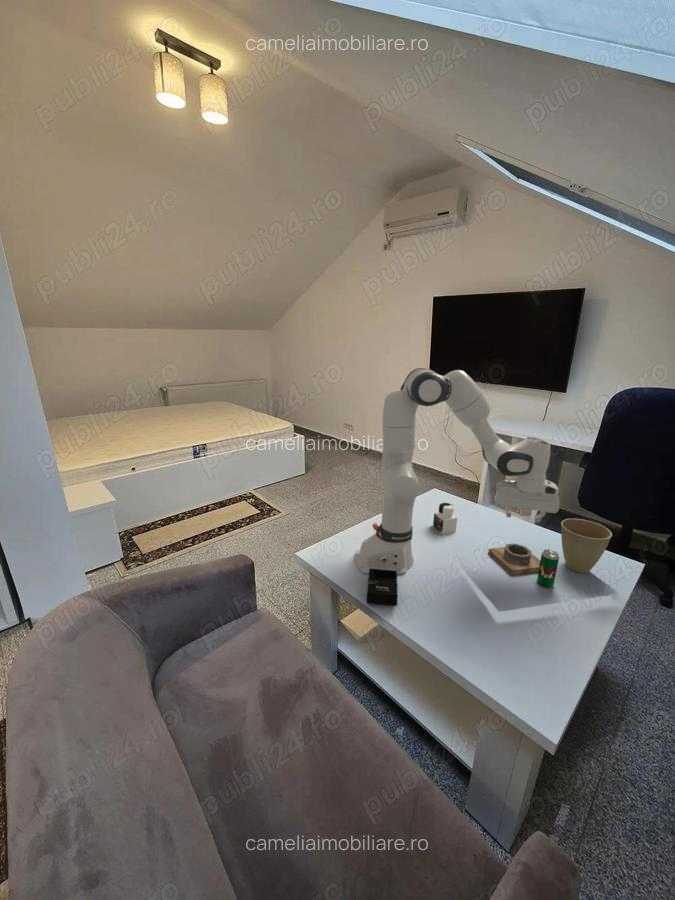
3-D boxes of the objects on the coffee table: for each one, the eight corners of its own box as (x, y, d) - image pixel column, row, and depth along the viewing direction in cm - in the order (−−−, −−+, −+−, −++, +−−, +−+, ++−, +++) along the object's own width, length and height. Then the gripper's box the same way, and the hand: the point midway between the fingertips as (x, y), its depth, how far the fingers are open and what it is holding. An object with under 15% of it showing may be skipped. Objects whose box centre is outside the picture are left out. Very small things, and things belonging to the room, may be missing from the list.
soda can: (553, 582, 123) (559, 551, 120) (553, 590, 119) (559, 558, 116) (537, 577, 126) (542, 547, 122) (536, 585, 121) (541, 554, 118)
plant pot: (601, 563, 133) (610, 525, 129) (602, 585, 122) (613, 543, 117) (555, 550, 141) (562, 514, 137) (552, 570, 130) (560, 530, 125)
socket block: (511, 575, 127) (513, 563, 125) (488, 553, 140) (489, 541, 138) (546, 570, 129) (548, 558, 128) (520, 549, 142) (522, 538, 141)
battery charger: (397, 606, 112) (397, 596, 111) (366, 603, 113) (366, 592, 112) (396, 580, 124) (397, 570, 123) (368, 577, 126) (369, 568, 124)
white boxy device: (432, 527, 159) (434, 502, 156) (446, 524, 161) (449, 500, 158) (441, 534, 153) (444, 509, 149) (456, 532, 155) (458, 507, 151)
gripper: (498, 482, 126) (492, 517, 130) (564, 491, 119) (555, 528, 123) (496, 476, 131) (490, 510, 135) (560, 484, 125) (551, 520, 129)
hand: (522, 518), depth 129 cm, fingers open, 8 cm apart
